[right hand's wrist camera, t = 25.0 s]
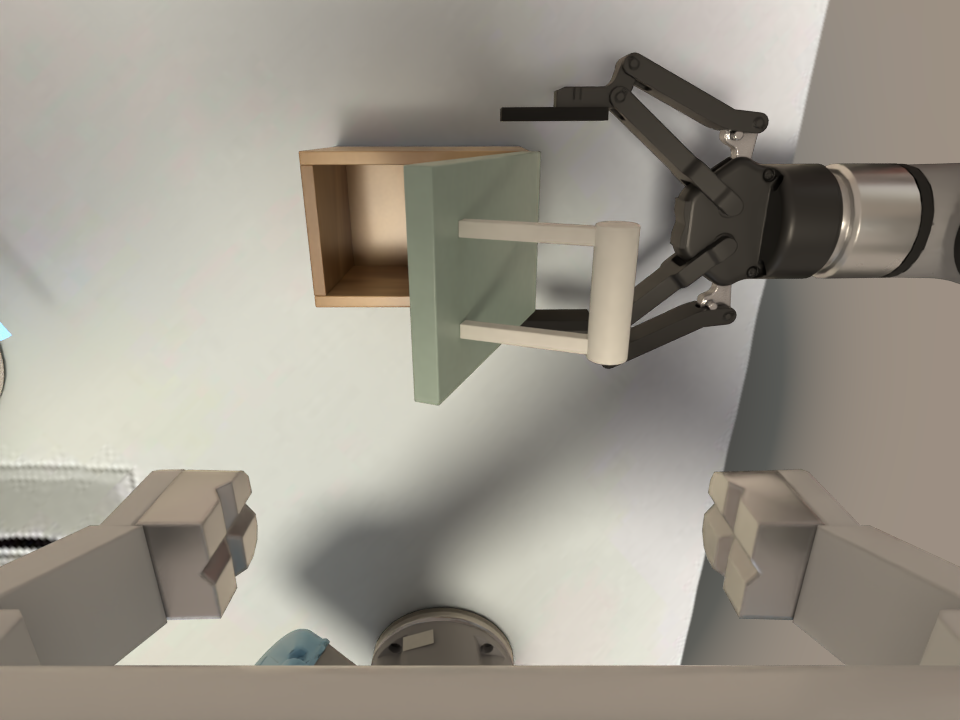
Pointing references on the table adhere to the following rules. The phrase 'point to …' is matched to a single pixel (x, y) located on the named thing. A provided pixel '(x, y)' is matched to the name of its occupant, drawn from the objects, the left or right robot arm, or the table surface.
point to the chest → (364, 219)
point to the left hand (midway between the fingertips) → (499, 224)
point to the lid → (499, 269)
